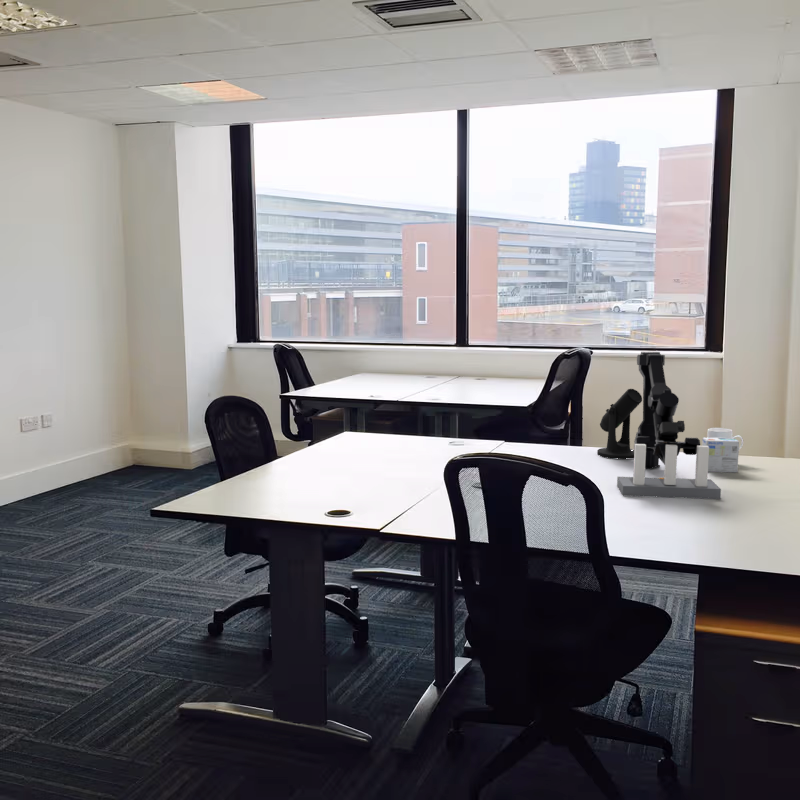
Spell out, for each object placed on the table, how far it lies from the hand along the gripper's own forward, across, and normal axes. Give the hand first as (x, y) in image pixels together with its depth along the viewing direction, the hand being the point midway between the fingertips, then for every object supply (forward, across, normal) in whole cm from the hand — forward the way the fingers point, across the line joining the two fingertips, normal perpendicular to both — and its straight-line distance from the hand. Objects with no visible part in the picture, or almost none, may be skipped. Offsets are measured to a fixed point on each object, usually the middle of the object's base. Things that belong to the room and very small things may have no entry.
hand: (669, 469), depth 251 cm
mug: (-29, +28, +40) cm, 57 cm away
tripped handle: (+4, 0, +2) cm, 4 cm away
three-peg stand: (+4, 0, +6) cm, 8 cm away
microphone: (-34, -7, +45) cm, 56 cm away
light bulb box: (-19, +23, +30) cm, 43 cm away
